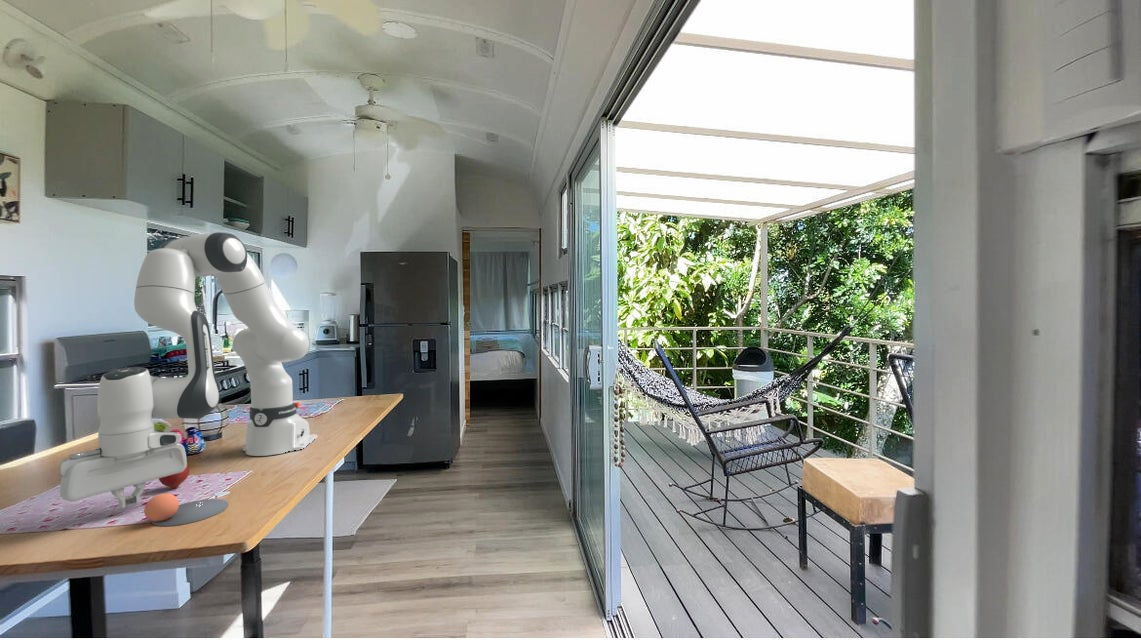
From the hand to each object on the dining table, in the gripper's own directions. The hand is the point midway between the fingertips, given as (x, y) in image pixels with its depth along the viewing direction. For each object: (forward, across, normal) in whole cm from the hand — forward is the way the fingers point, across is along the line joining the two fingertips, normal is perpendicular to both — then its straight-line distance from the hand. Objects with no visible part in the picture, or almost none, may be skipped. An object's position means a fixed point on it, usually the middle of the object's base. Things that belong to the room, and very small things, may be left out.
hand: (129, 505), depth 101 cm
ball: (-1, +1, -11) cm, 11 cm away
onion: (+2, +12, +8) cm, 14 cm away
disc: (+2, +6, -12) cm, 14 cm away
